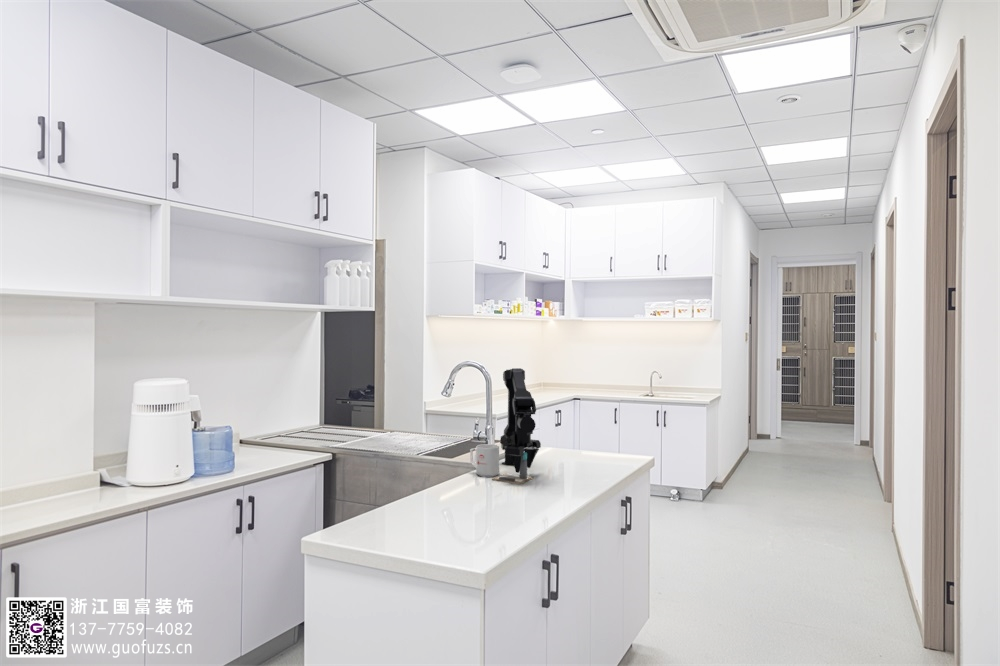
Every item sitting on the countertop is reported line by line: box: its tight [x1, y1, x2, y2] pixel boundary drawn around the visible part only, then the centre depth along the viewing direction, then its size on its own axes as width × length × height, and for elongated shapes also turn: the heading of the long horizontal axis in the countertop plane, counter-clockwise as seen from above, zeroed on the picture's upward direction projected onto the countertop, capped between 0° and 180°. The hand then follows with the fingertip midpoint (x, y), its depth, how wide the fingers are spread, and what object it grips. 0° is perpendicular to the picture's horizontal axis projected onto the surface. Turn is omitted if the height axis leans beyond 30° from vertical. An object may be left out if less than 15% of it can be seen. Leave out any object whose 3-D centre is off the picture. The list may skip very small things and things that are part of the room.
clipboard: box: [491, 473, 535, 485], centre depth 252 cm, size 11×12×1 cm
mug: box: [469, 443, 500, 478], centre depth 259 cm, size 12×9×11 cm
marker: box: [519, 452, 528, 479], centre depth 251 cm, size 3×3×9 cm
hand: (523, 470), depth 251 cm, fingers open, 9 cm apart
